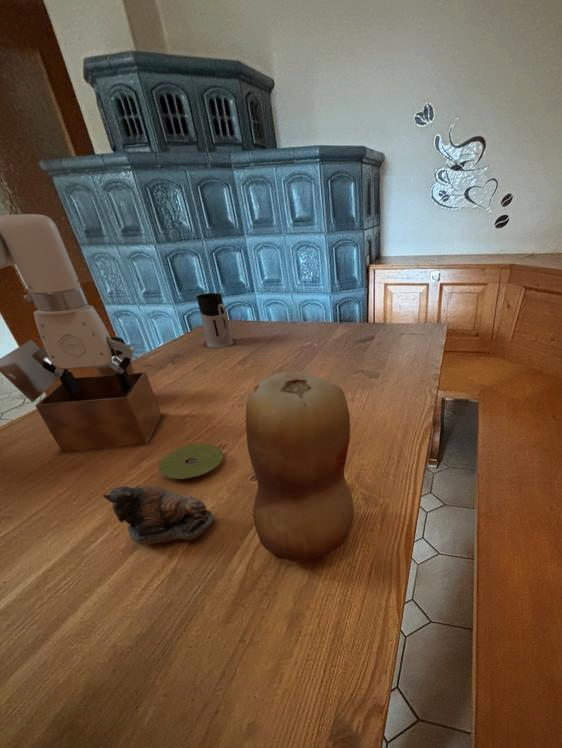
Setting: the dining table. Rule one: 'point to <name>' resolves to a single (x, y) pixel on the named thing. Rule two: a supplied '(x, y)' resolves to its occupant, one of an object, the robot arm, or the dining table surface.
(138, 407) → the carton
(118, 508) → the bison figurine
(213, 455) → the mat
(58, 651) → the dining table surface
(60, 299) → the robot arm
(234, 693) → the dining table surface
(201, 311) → the glass holder
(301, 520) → the butternut squash
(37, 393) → the carton flap
